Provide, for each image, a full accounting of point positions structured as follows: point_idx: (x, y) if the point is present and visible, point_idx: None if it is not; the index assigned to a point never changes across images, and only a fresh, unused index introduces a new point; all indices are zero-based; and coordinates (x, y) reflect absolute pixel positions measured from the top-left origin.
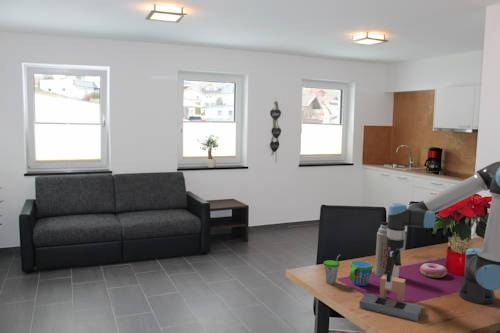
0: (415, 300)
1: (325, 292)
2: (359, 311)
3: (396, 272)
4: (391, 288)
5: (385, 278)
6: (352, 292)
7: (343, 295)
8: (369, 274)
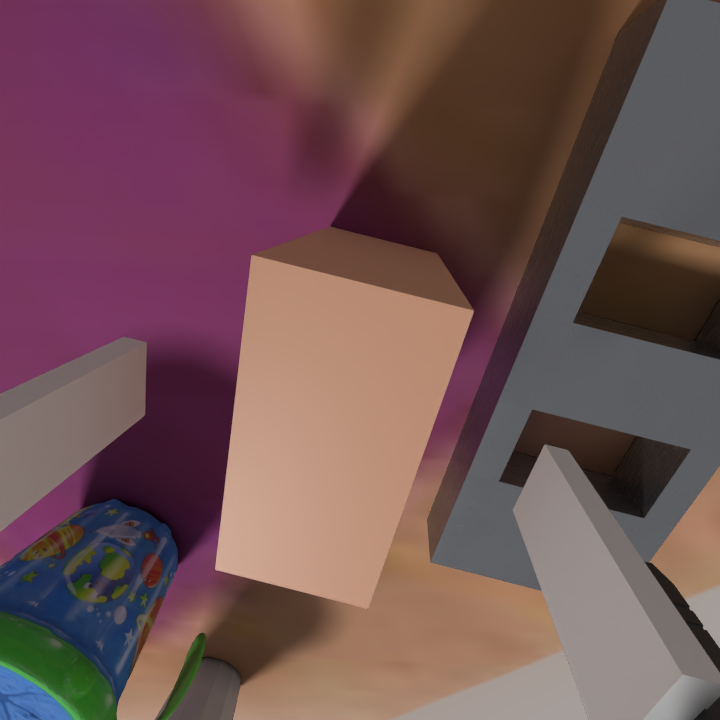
0: (278, 100)
1: (381, 700)
2: (658, 562)
3: (58, 424)
4: (554, 450)
5: (354, 557)
6: None
7: (393, 629)
8: (71, 574)
